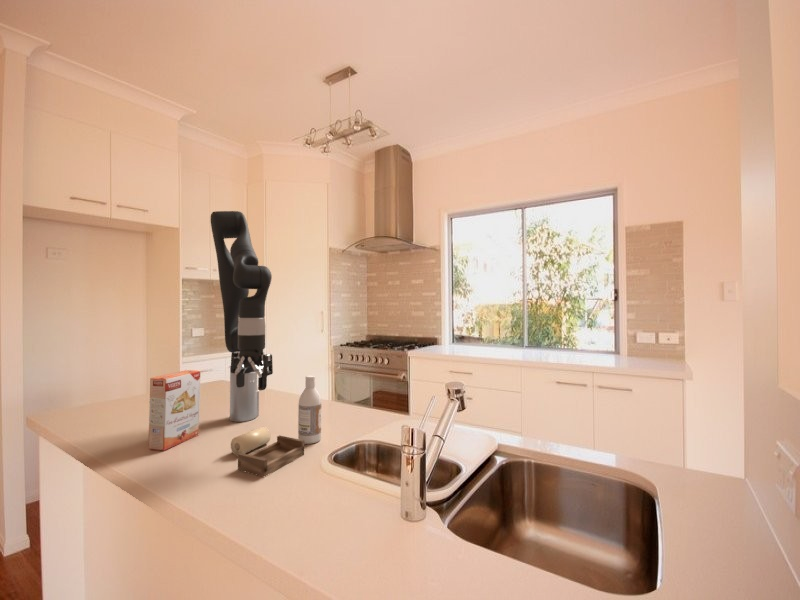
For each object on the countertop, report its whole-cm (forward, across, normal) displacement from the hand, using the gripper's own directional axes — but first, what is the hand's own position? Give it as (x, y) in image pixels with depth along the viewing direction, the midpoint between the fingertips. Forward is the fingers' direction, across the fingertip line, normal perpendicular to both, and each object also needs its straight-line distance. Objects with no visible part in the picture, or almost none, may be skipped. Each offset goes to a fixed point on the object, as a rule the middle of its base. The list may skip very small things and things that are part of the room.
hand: (251, 388), depth 109 cm
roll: (+18, 0, 0) cm, 18 cm away
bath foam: (+18, -11, -13) cm, 25 cm away
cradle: (+18, -12, +4) cm, 22 cm away
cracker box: (+18, +25, +6) cm, 31 cm away
